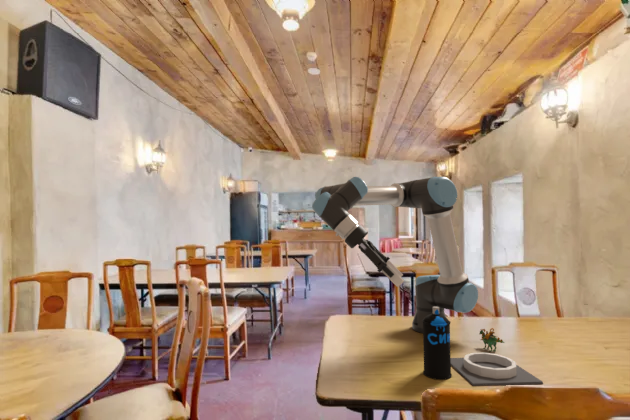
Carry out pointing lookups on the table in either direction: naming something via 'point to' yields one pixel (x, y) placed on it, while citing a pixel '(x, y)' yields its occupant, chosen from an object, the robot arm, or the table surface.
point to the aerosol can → (436, 346)
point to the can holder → (492, 370)
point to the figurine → (490, 339)
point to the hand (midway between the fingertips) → (400, 280)
